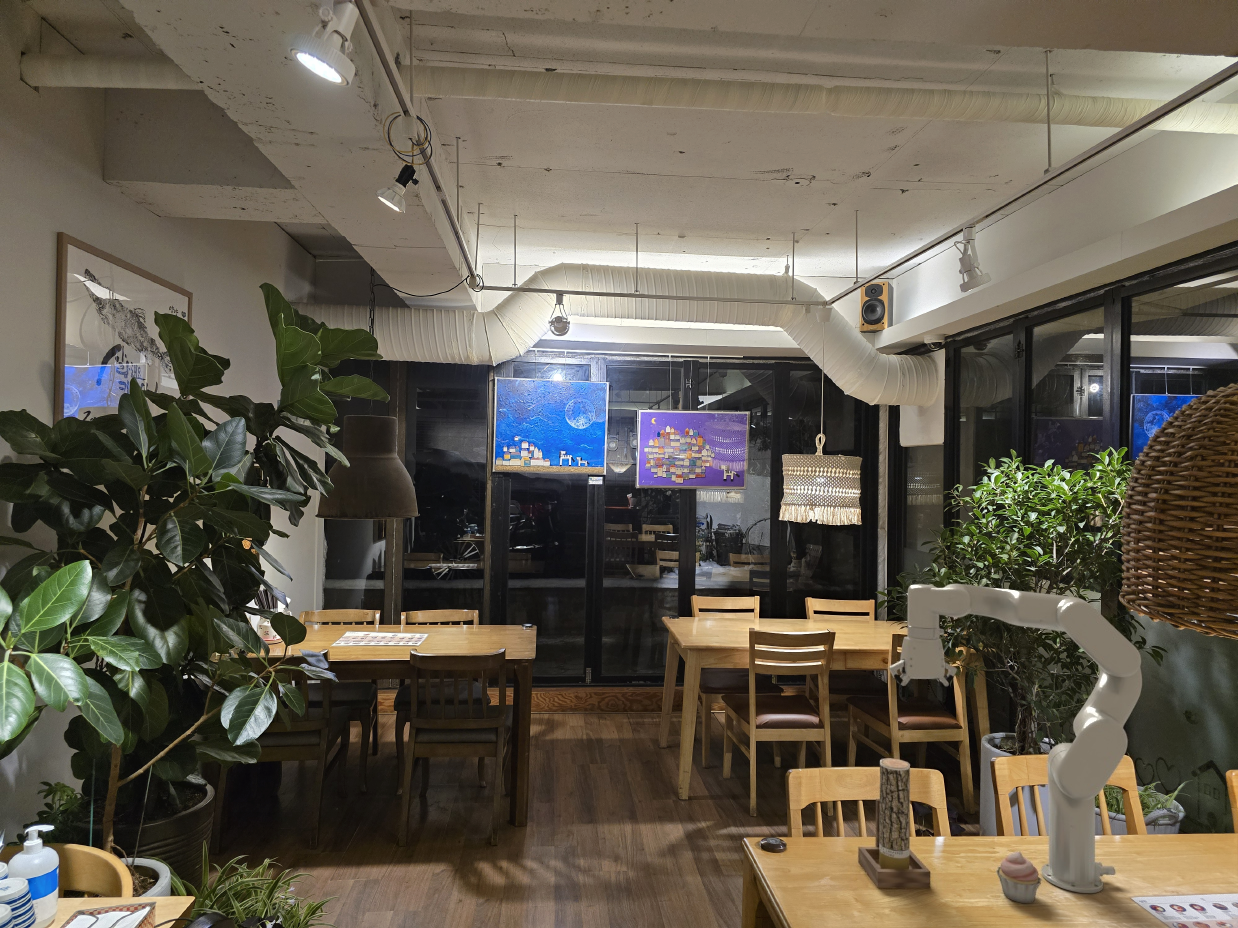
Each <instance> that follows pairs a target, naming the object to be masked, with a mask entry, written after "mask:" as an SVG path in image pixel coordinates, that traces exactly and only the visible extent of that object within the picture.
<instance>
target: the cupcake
mask: <svg viewBox="0 0 1238 928" xmlns="http://www.w3.org/2000/svg"><path fill="white" fill-rule="evenodd" d="M995 872H996V874H997V876H998V878H999V882H1000V886H1001V889H1002V893H1003V895H1004V896H1005V897H1006V898H1008V899H1009V900H1011V901H1013V902H1017V903H1022V904H1031V903H1033V902H1034V901H1035V899H1036V896H1037V890H1038V889H1039V887H1040V886H1041V882H1042V881H1043V879H1042V878H1041V877H1040V875H1039V871H1038V869H1037V867H1035V866H1034V864H1033V863H1032V862H1031V860H1029V859H1028V858H1027V857H1025V856H1023V854H1022V853H1021V851H1020V850H1019V851H1012V852H1011V853H1010V854H1008V855H1006V857H1005V858H1003V859H1002V860H1001V862H1000V866H997V869H996V871H995Z"/></svg>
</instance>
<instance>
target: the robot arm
mask: <svg viewBox="0 0 1238 928" xmlns="http://www.w3.org/2000/svg"><path fill="white" fill-rule="evenodd" d="M968 614H969V615H970V614H971V615H977V616H983V617H990V618H992V619H993V618H994V619H996V620H1000V621H1002V622H1004V623H1007V624H1010V625H1015V626H1016V627H1017V626H1019V627H1026V628H1034V629H1035V628H1036V629H1043V630H1051V631H1058V632H1064V633H1066V634H1067V635H1068V636H1069V638H1071V640H1072V641H1074V643H1075V644H1076V645H1078V647H1079V648H1081V650H1082V651H1083V652H1085V653H1086V654H1087V655H1088V657H1090V658H1091V659H1092V660H1093V661H1094V662H1095V663H1096V664H1097V666H1098V668H1099V669H1098V670H1099V671H1098V672H1099V676H1098V680H1097V681H1096V684H1095V686H1094V688H1093V690H1092V692H1091V693H1090V695H1089V696H1088V697H1087V700H1086V701H1085V703H1084V705H1083V706H1082V707H1081V709H1080V711H1078V713H1077V714H1076V716H1075V717H1074V720H1073V723H1072V728H1073V733H1074V734H1075V736H1076V737H1074V740H1073V741H1072V742H1071V743H1070V742H1062V743H1059V744H1056V745H1055V746H1053V747H1052V749H1050V751H1049V753H1048V756H1047V762H1046V768H1047V769H1046V770H1047V771H1046V773H1047V784H1048V786H1047V787H1048V788H1047V789H1048V863H1045V864H1043V865H1042V866H1041V869H1040V871H1041V872H1040V873H1041V876H1042V878H1044V879H1045V880H1046V881H1047V882H1049V883H1050V884H1052V885H1054V886H1056V887H1059V888H1061V889H1064V890H1066V891H1070V892H1074V893H1079V894H1080V893H1082V894H1095V893H1099V892H1100V891H1102V890H1103V888H1104V883H1103V879H1102V878H1101V877H1103V876H1105V875H1106V876H1114V875H1116V869H1115V867H1114V866H1112V865H1103V863H1102V862H1101V861H1096V802H1095V801H1096V800H1095V799H1096V798H1095V797H1096V796H1097V795H1098V794H1100V793H1101V791H1102V790H1103V789H1104V787H1105V786H1106V784H1107V783H1108V782H1109V780H1110V778H1111V777H1112V776H1113V774H1114V773H1115V771H1116V769H1117V768H1118V767H1119V765H1120V763H1121V762H1122V759H1123V758H1124V756H1125V754H1126V753H1127V748H1128V743H1129V742H1128V741H1129V740H1128V736H1127V735H1128V734H1127V733H1126V730H1125V729H1124V726H1125V724H1126V722H1127V720H1128V719H1129V717H1131V716H1130V715H1131V713H1132V712H1133V710H1134V708H1135V706H1136V704H1137V703H1138V700H1139V698H1140V696H1141V693H1142V692H1141V691H1142V688H1143V678H1142V677H1143V675H1142V669H1141V664H1142V658H1141V657H1142V656H1141V654H1140V652H1139V650H1138V649H1137V647H1136V646H1135V645H1133V643H1131V641H1129V640H1128V639H1127V638H1126V637H1125V636H1124V635H1123V634H1122V633H1121V632H1120V631H1119V630H1117V629H1116V628H1115V626H1114V625H1113V624H1111V623H1110V622H1109V620H1107V619H1106V618H1105V617H1104V616H1103V615H1102V614H1101V613H1100V612H1099V611H1098V610H1097V609H1096V607H1094V606H1093V605H1092V604H1090V603H1088V602H1087V601H1086V600H1084V599H1082V598H1079V597H1075V596H1069V595H1059V594H1050V593H1041V592H1034V591H1033V592H1032V591H1022V590H1014V589H1004V588H996V587H995V588H994V587H986V586H982V585H981V586H979V585H971V584H963V583H962V584H961V583H952V584H951V583H950V584H947V585H946V586H944V587H937V586H934V585H932V584H921V583H919V584H918V583H917V584H911V585H909V586H908V589H907V636H904V637H903V641H902V646H901V649H900V650H901V651H900V659H899V661H898V662H896V663H894V664H891V665H890V666H889V667H888V670H889V672H890V674H891V676H892V678H893V679H894V680H895V681H896V682H897V683H898V695H899V697H900V699H901V700H902V701H903V702H906V703H907V702H909V686H908V685H907V684H908V683H909V682H910V681H911V679H914V680H918V679H919V680H920V679H921V680H927V679H928V680H937V681H938V683H937V685H936V699H937V700H939V701H940V702H942V703H945V702H946V698H947V690H948V689H947V687H948V686H949V684H950V683H951V682H952V681H953V680H954V676H955V675H956V673H957V671H958V669H957V668H956V667H955V666H952V665H951V664H949V663H947V662H946V661H945V652H944V646H943V642H942V639H941V638H940V637H941V636H940V635H944V634H945V630H944V629H943V628H941V627H940V615H941V616H944V617H945V616H947V617H951V618H963V617H965V616H967V615H968ZM945 669H946V670H948V671H947V673H945V672H946V670H945ZM898 670H899V671H900V673H901V675H899V673H898Z"/></svg>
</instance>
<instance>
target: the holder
mask: <svg viewBox="0 0 1238 928" xmlns="http://www.w3.org/2000/svg"><path fill="white" fill-rule="evenodd" d="M879 828H880V798H876V799H875V846H858V847H857V848H858V849H857V851H858V857H857V859H858V860H857V861H858V864H859V865H860V867H861V868H862V869H863V871H864V872H865V873H866V874H867V876H868V877H869V879H870V880H871V881H872V882H873V884H874V885H875V887H876V888H878V889H931V871H930V869H929V868H928V867H927V866H926V865H925V864H924V863H923V862H922V861H921V859H920V858H919V857H918V856H916V854H915V853H914V852H913V851H912V850H911V849H910V855H909V869H882V868H881V867H880V864H879Z"/></svg>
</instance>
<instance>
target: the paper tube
mask: <svg viewBox="0 0 1238 928" xmlns="http://www.w3.org/2000/svg"><path fill="white" fill-rule="evenodd" d="M910 766H911V764H910V763H909V762H908V761H905V760H903V759H898V758H889V757H888V758H881V759H880V760H879V799H880V828H879V864H880V867H881V868H882V869H909V855H910V850H911V849H910V848H911V847H910V846H911V845H910V842H911V841H910V839H911V838H910V832H911V830H910V828H911V827H910V823H911V821H910V820H911V818H910V816H911V815H910V814H911V812H910V811H911V810H910V808H911V767H910Z"/></svg>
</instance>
